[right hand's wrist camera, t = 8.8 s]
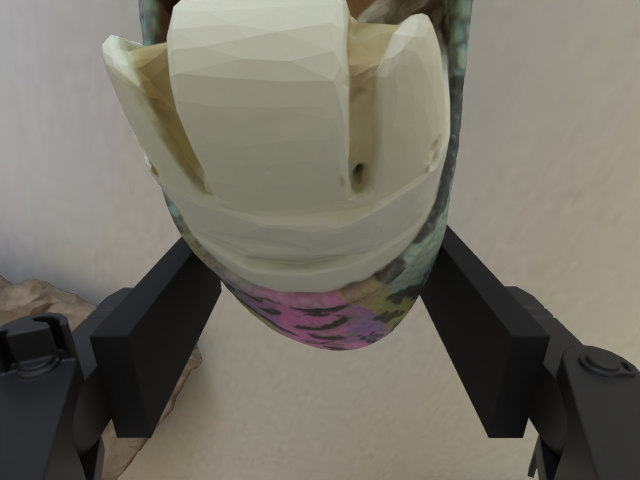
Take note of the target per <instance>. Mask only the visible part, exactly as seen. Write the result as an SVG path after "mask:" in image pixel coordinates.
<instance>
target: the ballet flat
mask: <svg viewBox="0 0 640 480" xmlns="http://www.w3.org/2000/svg"><path fill="white" fill-rule="evenodd" d="M472 2H473V0H139V13H140V22H141V30H142V37H143V45H142V44H140V43H138V42H134V41H129V40H127V39H125V38H124V37H119V36H113V35H110V36H109V37H108V38H107V40H106V41H105V42H104V43H103V44H102V52H103V59H104V62H105V66H106V69H107V72H108V75H109V78H110V80H111V82H112V85H113V87H114V89H115V92H116V94H117V96H118V98H119V101H120V103H121V105H122V108H123V110H124V112H125V114H126V117H127V119H128V121H129V123H130V124H131V126H132V128H133V130H134V132H135V134H136V136H137V138H138V140H139V142H140V144H141V146H142V148H143V150H144V156H145V164H146V166H147V167H148V169H149V170H150V172H151V173H152V175H153V176H154V178H155V179H156V180H157V182H158V183H159V185H160V186H161V188H162V191H163V194H164V197H165V200H166V204H167V207H168V209H169V211H170V214H171V216H172V218H173V220H174V223H175V225H176V227H177V228H178V230H179V232H180V234H181V235H182V237H183V238H184V240H185V241H186V242H187V244H188V245H189V247H190V248H191V249H192V251H193V252H194V253H195V254H196V255H197V256H198V257H199V258H200V259H201V261H202V262H204V263H205V264H206V265H207V266H208V267H209V268H210V269H211V270H213V271H214V272H215V273H216V274H217V276H218V277H219V279H220V280H221V281H222V282H223V283H224V284H225V286H226V287H227V289H228V290H230V291H231V292H232V294H233V295H234V296H235V297H236V298H237V299H238V300H239V301H240V302H241V303H242V305H243V306H244V307H245V308H247V309H248V310H249V311H250V312H251V313H252V314H253V315H254V316H256V317H257V318H258V319H259V320H261V321H262V322H263V323H265V324H266V325H267V326H268V327H270V328H271V329H273V330H274V331H276V332H278V333H280V334H282V335H284V336H286V337H289V338H291V339H294V340H296V341H298V342H301V343H304V344H307V345H310V346H313V347H317V348H320V349H328V350H335V351H342V350H352V349H357V348H361V347H365V346H368V345H371V344H372V343H374V342H376V341H378V340H380V339H382V338H383V337H385V336H387V335H388V334H389V333H390V332H392V331H393V330H394V328H395V327H396V326H397V325H398V324H399V323H400V322H401V321H402V319H403V318H404V317H405V316H406V314H407V313H408V312H409V310H410V309H411V307H412V306H413V304H414V303H415V301H416V299H417V298H418V296H419V295H420V293H421V291H422V289H423V287H424V285H425V283H426V281H427V279H428V277H429V275H430V272H431V270H432V267H433V265H434V262H435V260H436V257H437V255H438V252H439V249H440V246H441V243H442V240H443V237H444V233H445V229H446V225H447V217H448V207H449V200H450V192H451V188H452V185H453V179H454V172H455V166H456V157H457V152H458V147H459V132H460V127H461V112H462V92H463V83H464V76H465V69H466V59H467V45H468V38H469V29H470V19H471V10H472Z"/></svg>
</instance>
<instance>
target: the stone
mask: <svg viewBox="0 0 640 480" xmlns="http://www.w3.org/2000/svg"><path fill="white" fill-rule="evenodd" d="M97 307H98V306H96V305H93V304H90V303H87V302H85V301H83V300H81V299H80V298H79V297H78V296H77V295H76V294H72V293H67V292H64V291H62V290H60V289H58V288H55V287H53V286H52V285H51V284H49V283H46V282H44V281H39V280H36V279H28V280H26V281H24V282H23V283H21V284H19V285H13V284H12V283H10V282H9V281H7V280H6V279H4V277H2V276H1V275H0V326H2V325H4V324H5V323H8V322H10V321H13V320H15V319H18V318H20V317H24V316H28V315H32V314H36V313H47V312H52V313H60V314H62V315H64V316H65V317H67V319H68V323H69V326H70V330H71V332H72V331H73V330H74V329H75V328H76V327H77V326H78V325H79V324H80V323H81V322H82V321H83V320H84V319H87V316H88V315H89V314H90V313H91V312H92V311H93V310H96V308H97ZM201 362H202V358H201V353H200V351H199V349H198V347H197V344H196V345H195V347H194V349H193V351H192V354H191V356H190V358H189V360H188V362H187V364H186V366H185V368H184V370H183V372H182V374H181V376H180V378H179V380H178V383H177V385H176V387H175V389H174V391H173V393H172V395H171V397H170V399H169V401H168V403H167V405H166V407H165V410H164V412H163V414H162V416H161V418H160V420H159V422H158V424H157V426H158V425H159V424H160V423H161V422H162V420H163V419H164V418H165V417H166V416H167V415H168V414H169V413H170V412H171V411H172V410H173V408H174V404H175V400H176V397H177V395H178V394H179V392H180V391H181V389H182V387H183V385H184V382H185V380H186V379H187V377H188V375H189V373H190V371H191V370H193V369H195V368H197V367H198V366H199V364H200V363H201ZM157 426H156V427H157ZM102 439H103V442H104V448H105V455H104V463H103V470H102V477H101V480H117V479H118V477H119V476H120V475H121V474H122V473H123V472H124V471H125V469H126V468H127V467H128V466H129V465H130V463H131V462H132V461H133V459H134V457H135V455H136V454H137V452H138V451H140V450H141V449H142V447H143V446H144V444H145V443H146V442H147V440H148V439H149V438H117V437H116V433H115V429H114V426H113V422H112V419H111V420H110V422H109V424H108V425H107V427H106V428H105V430H104V432H103V433H102Z"/></svg>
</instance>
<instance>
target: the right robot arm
mask: <svg viewBox="0 0 640 480" xmlns="http://www.w3.org/2000/svg"><path fill="white" fill-rule="evenodd" d="M220 293H221V282H220V279H219V277H218V276H217V274H216V273H215V272H214V271H213V270H211V269H210V268H209V267H208V266H207V265H206V264H205V263H204V262H202V261H201V259H200V258H199V257H198V256H197V255H196V254H195V253H194V252H193V251H192V249H191V248H190V247H189V245H188V244H187V242H186V241H185V240H184V238H183V237H181V238H180V239H179V240H178V241H177V242H176V243H175V244H174V245H173V246H172V247H171V249H170V250H169V251H168V252H167V253H166V254H165V255H164V256H163V257H162V258H161V259H160V260H159V261H158V263H157V264H156V265H155V266H154V267H153V268H152V269H151V270H150V271H149V272H148V273H147V274H146V275H145V277H144V278H143V279H142V280H141V281H140V282H139V283H138V284H137V285H136V286H135V287H134V288H123V289H121V290H119V291H117V292H115V293H114V294H112V295H110V296H108V297H107V298H106V299H105V300H104V301H103V302H102V303H101V304H100V305H99V306H98V307H97V308H96V310H93V311H92V312H91V313H90V314H89V315H88V316H87V319H84V320H83V321H82V322H81V323H80V324H79V325H78V326H77V327H76V328H75V329H74V330H73V331H72V332H71V330H70V326H69V323H68V319H67V317H65V316H64V315H62V314H60V313H52V312H47V313H36V314H32V315H28V316H24V317H20V318H18V319H15V320H13V321H10V322H8V323H5V324H4V325H2V326H0V480H101V477H102V470H103V463H104V455H105V448H104V442H103V439H102V433H103V432H104V430H105V428H106V427H107V425H108V424H109V422H110V420H111V419H112V422H113V426H114V429H115V433H116V437H117V438H151V436H152V434H153V432H154V430H155V428H156V426H157V424H158V422H159V420H160V418H161V416H162V414H163V412H164V410H165V407H166V405H167V403H168V401H169V399H170V397H171V395H172V393H173V391H174V389H175V387H176V385H177V383H178V380H179V378H180V376H181V374H182V372H183V370H184V368H185V366H186V364H187V362H188V360H189V358H190V356H191V354H192V351H193V349H194V347H195V345H196V343H197V341H198V339H199V337H200V335H201V333H202V331H203V329H204V327H205V325H206V322H207V320H208V318H209V316H210V314H211V312H212V310H213V308H214V306H215V304H216V302H217V300H218V298H219V296H220ZM420 296H421V298H422V300H423V302H424V304H425V306H426V309H427V311H428V313H429V315H430V317H431V319H432V321H433V323H434V325H435V327H436V329H437V331H438V333H439V335H440V338H441V340H442V342H443V344H444V346H445V348H446V350H447V352H448V354H449V356H450V358H451V360H452V362H453V364H454V367H455V369H456V371H457V373H458V375H459V377H460V379H461V381H462V383H463V385H464V387H465V389H466V391H467V394H468V396H469V398H470V400H471V402H472V404H473V406H474V408H475V410H476V412H477V414H478V416H479V418H480V420H481V423H482V425H483V427H484V429H485V431H486V433H487V435H488V437H489V438H523V435H524V432H525V428H526V425H527V421H528V417H529V419H530V420H531V422H532V424H533V425H534V427H535V428H536V430H537V432H538V433H539V435H538V439H537V442H536V445H535V449H534V452H533V456H532V459H531V462H530V466H529V471H528V476H529V477H534V474H535V471H536V469H538V476H539V480H640V372H639V371H638V369H637V368H636V367H635V366H634V365H633V364H631V363H630V362H628V361H627V360H625V359H624V358H623V357H620V356H618V355H616V354H614V353H612V352H610V351H607V350H604V349H601V348H597V347H594V346H586V345H583V344H582V343H581V342H580V341H579V340H578V339H577V338H576V337H575V336H574V335H573V334H572V333H571V332H569V331H568V330H567V329H566V328H565V327H564V326H563V325H562V324H561V323H560V322H559V321H558V320H557V319H556V318H553V315H552V314H551V313H550V312H549V311H548V310H547V309H544V306H543V305H542V304H541V303H540V302H539V301H538V300H537V299H536V298H535V297H534V296H532V295H531V294H529V293H527V292H525V291H523V290H522V289H520V288H518V287H504V285H503V284H502V283H501V282H500V281H499V280H498V279H497V278H496V277H495V276H494V275H493V274H492V273H491V271H490V270H489V269H488V268H487V267H486V266H485V265H484V264H483V263H482V262H481V261H480V260H479V259H478V257H477V256H476V255H475V254H474V253H473V252H472V251H471V250H470V249H469V248H468V247H467V246H466V245H465V243H464V242H463V241H462V240H461V239H460V238H459V237H458V236H457V235H456V234H455V233H454V232H453V231H452V229H451V228H450V227H449V226H448V225H446V229H445V233H444V237H443V240H442V243H441V246H440V249H439V252H438V255H437V257H436V260H435V262H434V265H433V267H432V270H431V272H430V275H429V277H428V279H427V281H426V283H425V285H424V287H423V289H422V291H421V293H420Z"/></svg>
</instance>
